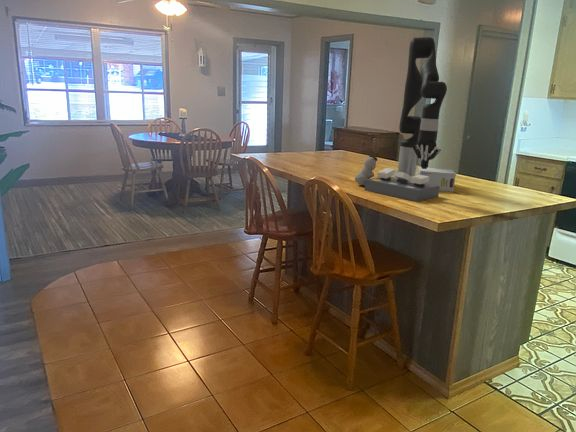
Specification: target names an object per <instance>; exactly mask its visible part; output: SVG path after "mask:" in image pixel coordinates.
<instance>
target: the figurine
mask: <svg viewBox="0 0 576 432" xmlns="http://www.w3.org/2000/svg"><path fill="white" fill-rule="evenodd" d="M377 161H378V158H377V157H376V156H374V155H372V154H370V155H369V156H368V157H366V158H365V160H364V164H363V167H362V168H361V170H360V171H358V173H356V174H355V176H354V181H355V182H356V184H358V185H361V186H363V187H365V180H366V179H372V178H374V176H375V173H374V172H373V170H375V169H376V165H377Z"/></svg>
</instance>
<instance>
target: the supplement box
mask: <svg viewBox="0 0 576 432" xmlns="http://www.w3.org/2000/svg"><path fill="white" fill-rule="evenodd" d="M416 171H417V172H416V176H417V175H424V176H429V182H426V183H428V184H433V185H438V186H440V188H439V192H440V191H441V192H451V191H452V192H454V190H455V182H456V176H457V173H456V172H455V171H454V170H453V169H451V168H449V169H448V168H436V167H428V168H427V169H422V167H421V166H417V168H416Z"/></svg>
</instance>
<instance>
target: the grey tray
mask: <svg viewBox="0 0 576 432" xmlns="http://www.w3.org/2000/svg"><path fill="white" fill-rule="evenodd" d="M439 188H440V186H438V185H433V184H428V183H423V184H416V183H411V181H407V180H402V179H399V178H397V177H395V176H391V177H389V178H387V179H386V178H380V177H378V176H377V177H372V178H370V179H366V180H365V186H364V191H367V192H372V193H376V194H380V195H385V196H390V197H393V198H397V199H402V200H407V201H411V202H416V203H417V202H422V201H425V200H429V199H433V198H434V197H435V198H438V197H439V193H440V191H439Z"/></svg>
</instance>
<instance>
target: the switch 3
mask: <svg viewBox="0 0 576 432" xmlns="http://www.w3.org/2000/svg"><path fill="white" fill-rule="evenodd" d="M426 182H429V176H424V175H417V174H416V175H415V176H413V177H411V183H416V184H423V183H426Z"/></svg>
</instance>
